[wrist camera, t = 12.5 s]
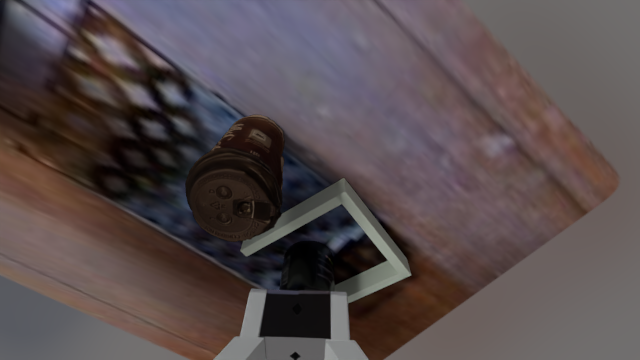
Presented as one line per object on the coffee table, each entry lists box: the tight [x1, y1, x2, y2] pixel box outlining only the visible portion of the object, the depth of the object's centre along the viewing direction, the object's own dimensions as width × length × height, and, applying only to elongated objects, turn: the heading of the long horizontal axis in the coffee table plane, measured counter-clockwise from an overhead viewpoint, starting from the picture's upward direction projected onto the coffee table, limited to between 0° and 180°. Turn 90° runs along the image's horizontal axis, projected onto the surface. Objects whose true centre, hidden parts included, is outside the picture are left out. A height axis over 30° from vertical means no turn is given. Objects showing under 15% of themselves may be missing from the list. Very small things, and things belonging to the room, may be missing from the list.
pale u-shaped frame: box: [240, 178, 411, 303], centre depth 46 cm, size 16×16×3 cm
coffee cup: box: [185, 115, 285, 242], centre depth 34 cm, size 9×8×13 cm
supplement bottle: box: [279, 241, 335, 292], centre depth 44 cm, size 7×7×12 cm
